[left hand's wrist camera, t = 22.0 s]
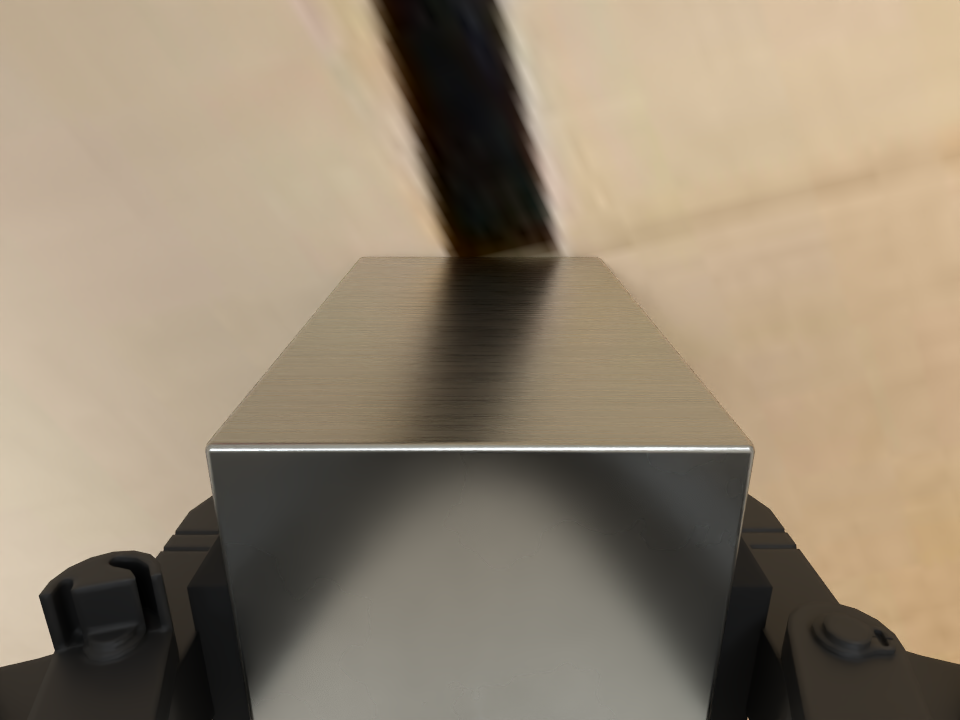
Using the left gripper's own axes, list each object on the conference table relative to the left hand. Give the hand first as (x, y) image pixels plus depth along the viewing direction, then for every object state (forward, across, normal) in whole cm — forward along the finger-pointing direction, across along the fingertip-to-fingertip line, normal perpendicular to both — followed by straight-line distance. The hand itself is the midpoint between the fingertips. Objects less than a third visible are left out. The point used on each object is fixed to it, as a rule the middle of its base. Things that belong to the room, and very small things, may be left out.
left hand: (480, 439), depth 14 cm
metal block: (+2, 0, 0) cm, 2 cm away
